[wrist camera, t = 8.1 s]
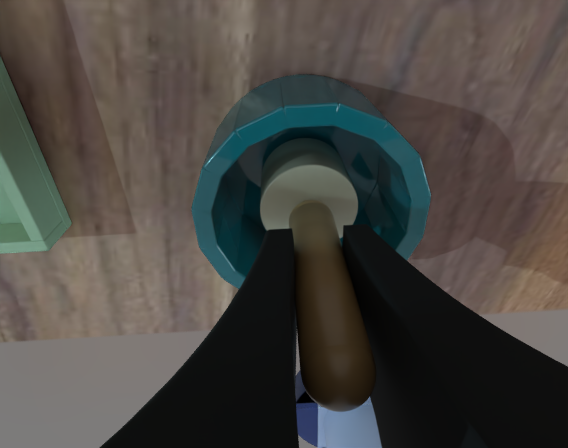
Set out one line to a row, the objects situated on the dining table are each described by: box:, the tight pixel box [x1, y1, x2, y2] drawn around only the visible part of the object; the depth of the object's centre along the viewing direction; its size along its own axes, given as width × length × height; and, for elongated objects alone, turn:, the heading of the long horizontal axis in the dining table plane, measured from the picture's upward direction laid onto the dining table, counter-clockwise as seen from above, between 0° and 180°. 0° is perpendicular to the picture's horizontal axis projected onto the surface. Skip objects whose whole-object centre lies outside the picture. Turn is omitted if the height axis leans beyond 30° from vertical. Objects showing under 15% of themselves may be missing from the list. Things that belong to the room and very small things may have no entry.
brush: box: [260, 138, 376, 412], centre depth 10 cm, size 3×3×9 cm
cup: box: [192, 74, 431, 289], centre depth 13 cm, size 7×7×4 cm
